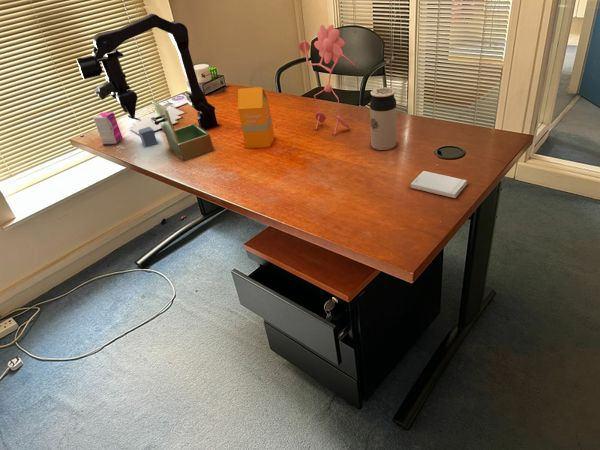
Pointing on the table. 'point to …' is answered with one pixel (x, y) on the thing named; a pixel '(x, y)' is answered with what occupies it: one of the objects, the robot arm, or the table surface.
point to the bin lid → (164, 121)
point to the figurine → (327, 61)
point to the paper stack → (148, 123)
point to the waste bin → (190, 142)
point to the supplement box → (108, 128)
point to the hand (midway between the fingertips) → (129, 115)
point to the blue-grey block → (147, 136)
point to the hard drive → (439, 184)
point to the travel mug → (383, 118)
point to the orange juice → (255, 117)
